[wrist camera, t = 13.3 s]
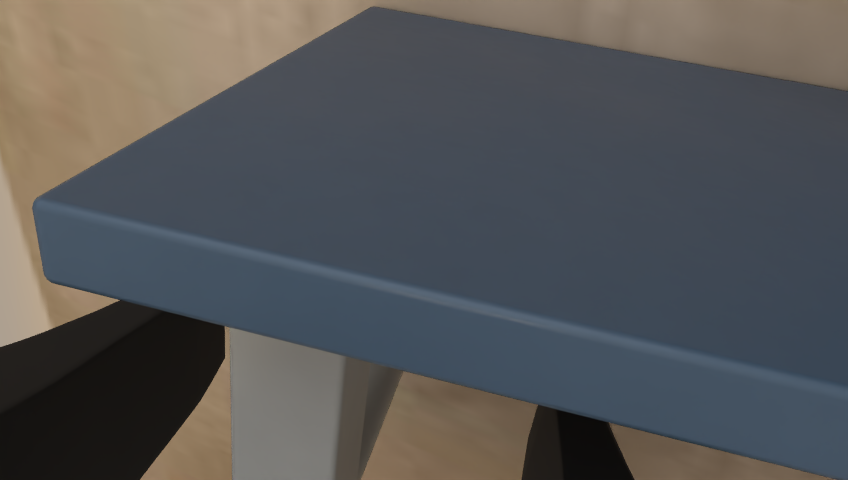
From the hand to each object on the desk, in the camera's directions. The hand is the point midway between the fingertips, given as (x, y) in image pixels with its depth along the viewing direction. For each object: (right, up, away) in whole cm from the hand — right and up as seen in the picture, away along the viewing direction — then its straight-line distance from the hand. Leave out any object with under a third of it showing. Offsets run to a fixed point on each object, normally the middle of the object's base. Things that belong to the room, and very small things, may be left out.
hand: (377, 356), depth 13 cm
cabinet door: (+6, +2, +1) cm, 7 cm away
